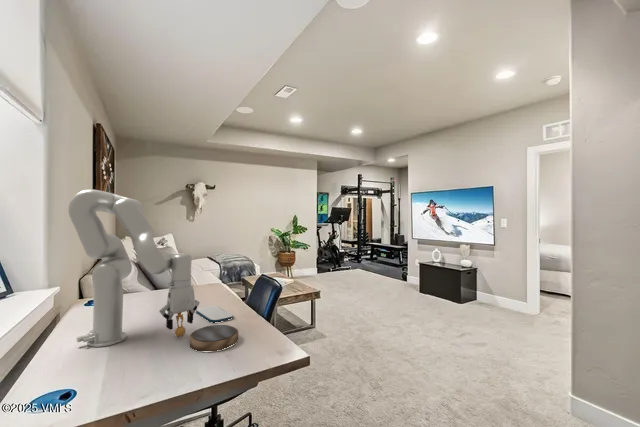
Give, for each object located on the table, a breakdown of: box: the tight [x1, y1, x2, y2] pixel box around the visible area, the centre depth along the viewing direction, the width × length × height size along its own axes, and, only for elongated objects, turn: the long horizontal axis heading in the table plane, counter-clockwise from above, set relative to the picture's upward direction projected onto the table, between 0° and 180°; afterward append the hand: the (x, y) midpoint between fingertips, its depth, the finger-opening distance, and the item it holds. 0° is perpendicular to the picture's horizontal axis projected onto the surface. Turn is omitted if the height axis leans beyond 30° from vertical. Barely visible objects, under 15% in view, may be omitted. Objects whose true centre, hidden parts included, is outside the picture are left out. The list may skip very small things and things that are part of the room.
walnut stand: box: [189, 324, 239, 352], centre depth 117 cm, size 18×18×4 cm
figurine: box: [174, 311, 190, 338], centre depth 123 cm, size 8×6×12 cm
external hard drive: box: [195, 305, 234, 324], centre depth 149 cm, size 24×12×2 cm, turn 43°
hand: (180, 325), depth 123 cm, fingers closed on figurine, 8 cm apart
